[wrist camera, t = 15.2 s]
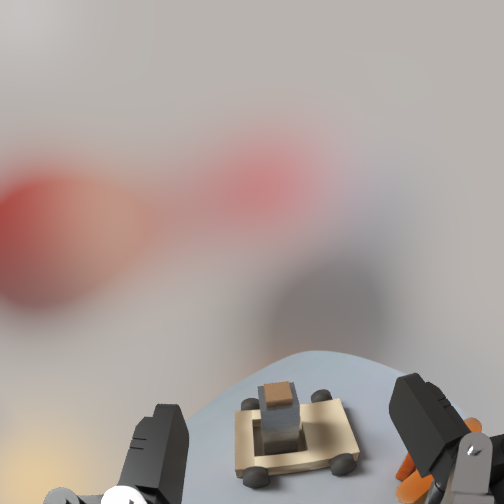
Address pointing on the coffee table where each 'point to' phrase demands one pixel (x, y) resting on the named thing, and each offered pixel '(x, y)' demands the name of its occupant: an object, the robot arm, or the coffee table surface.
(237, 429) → the chassis
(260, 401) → the block
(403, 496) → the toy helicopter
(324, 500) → the coffee table surface
